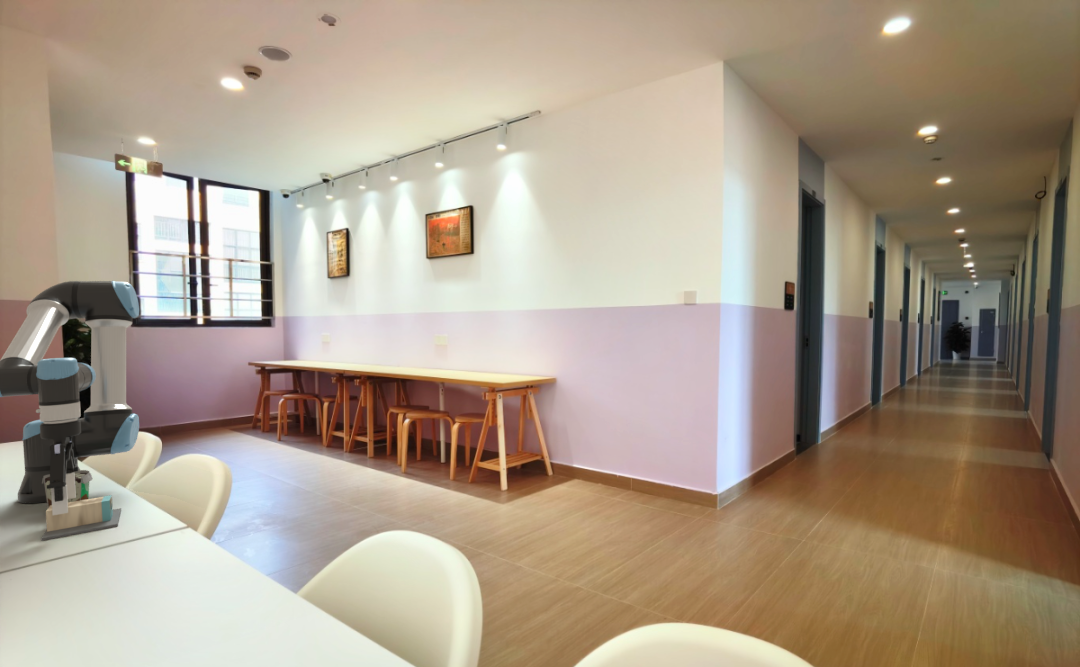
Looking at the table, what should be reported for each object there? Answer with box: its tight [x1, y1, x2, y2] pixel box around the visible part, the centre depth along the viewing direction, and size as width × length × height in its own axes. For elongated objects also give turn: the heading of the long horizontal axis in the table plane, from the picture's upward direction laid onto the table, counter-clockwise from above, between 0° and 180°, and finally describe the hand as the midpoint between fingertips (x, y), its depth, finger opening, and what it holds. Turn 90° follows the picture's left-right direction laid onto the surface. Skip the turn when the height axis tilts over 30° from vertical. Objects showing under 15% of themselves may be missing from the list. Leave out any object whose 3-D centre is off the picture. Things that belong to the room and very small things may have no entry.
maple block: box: [45, 494, 113, 532], centre depth 134 cm, size 5×5×12 cm
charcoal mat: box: [40, 507, 122, 542], centre depth 135 cm, size 14×14×1 cm
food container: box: [42, 469, 93, 509], centre depth 146 cm, size 12×6×10 cm, turn 84°
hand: (64, 506), depth 132 cm, fingers open, 13 cm apart
